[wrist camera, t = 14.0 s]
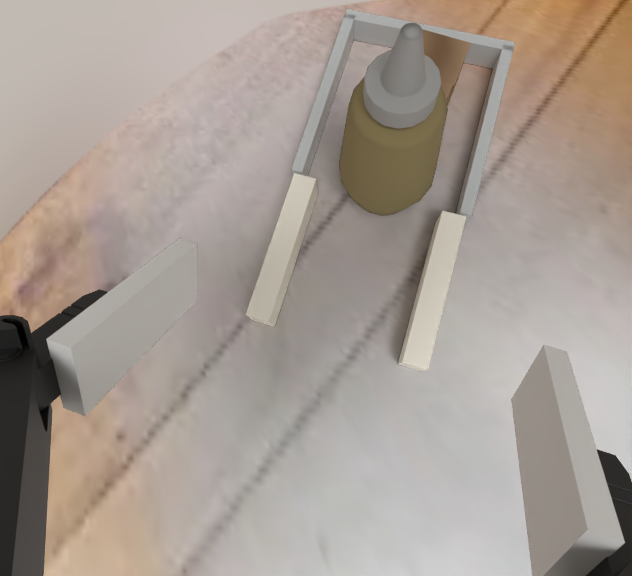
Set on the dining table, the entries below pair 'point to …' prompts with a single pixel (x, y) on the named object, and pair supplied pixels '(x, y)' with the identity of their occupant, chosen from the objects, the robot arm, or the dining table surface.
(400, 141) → the squeeze bottle
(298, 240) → the slot rails
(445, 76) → the brown cube block
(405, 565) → the dining table surface
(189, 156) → the dining table surface
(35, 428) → the robot arm
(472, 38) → the grey flat u-shaped frame
